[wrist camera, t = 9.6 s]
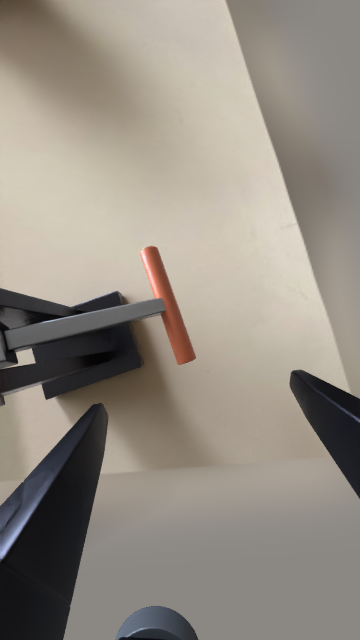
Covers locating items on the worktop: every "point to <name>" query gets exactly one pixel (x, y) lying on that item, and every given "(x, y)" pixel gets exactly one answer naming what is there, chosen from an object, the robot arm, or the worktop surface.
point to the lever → (107, 319)
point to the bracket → (67, 347)
